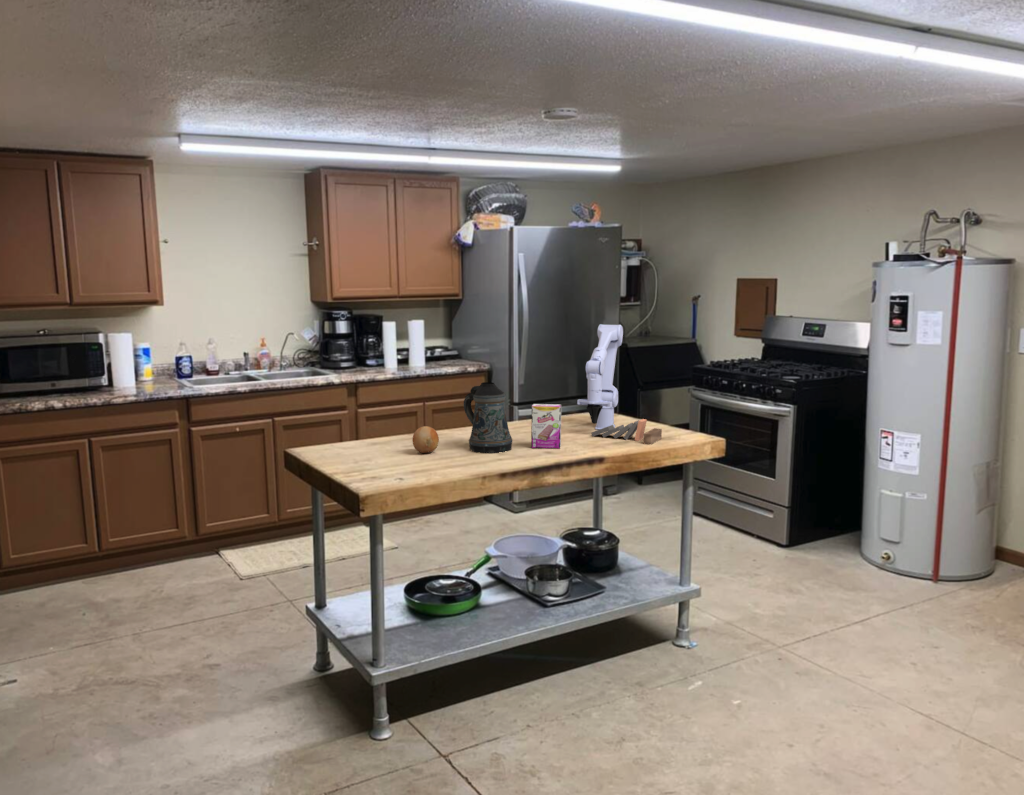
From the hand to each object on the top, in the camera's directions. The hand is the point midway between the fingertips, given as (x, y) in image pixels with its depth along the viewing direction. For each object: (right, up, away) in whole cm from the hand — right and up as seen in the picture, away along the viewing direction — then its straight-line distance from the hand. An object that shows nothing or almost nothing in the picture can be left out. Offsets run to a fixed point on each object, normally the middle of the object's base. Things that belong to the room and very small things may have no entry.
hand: (594, 423), depth 325 cm
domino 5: (+17, -6, -9) cm, 20 cm away
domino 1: (0, -4, +1) cm, 4 cm away
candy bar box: (-20, -9, -20) cm, 30 cm away
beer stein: (-43, -9, -22) cm, 49 cm away
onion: (-65, -10, -28) cm, 72 cm away
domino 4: (+12, -6, -6) cm, 15 cm away
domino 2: (+4, -5, -2) cm, 6 cm away
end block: (+22, -7, -11) cm, 25 cm away
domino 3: (+8, -5, -4) cm, 11 cm away
